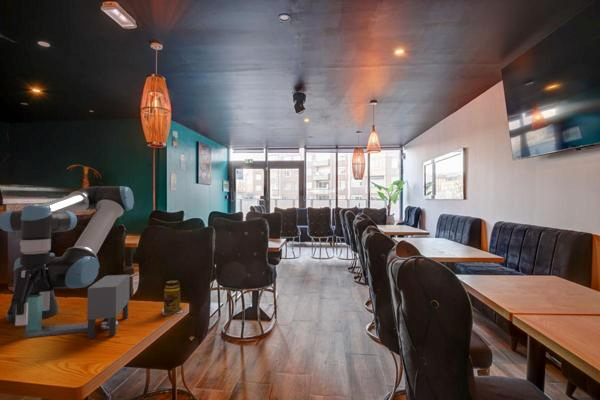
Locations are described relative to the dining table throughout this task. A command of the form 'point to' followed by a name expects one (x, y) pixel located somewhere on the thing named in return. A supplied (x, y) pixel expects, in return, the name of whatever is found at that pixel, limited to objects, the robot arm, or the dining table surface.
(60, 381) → the dining table surface
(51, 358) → the dining table surface
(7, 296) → the dining table surface
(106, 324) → the token
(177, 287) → the condiment
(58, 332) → the l-shaped tool
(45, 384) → the dining table surface
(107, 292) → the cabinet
